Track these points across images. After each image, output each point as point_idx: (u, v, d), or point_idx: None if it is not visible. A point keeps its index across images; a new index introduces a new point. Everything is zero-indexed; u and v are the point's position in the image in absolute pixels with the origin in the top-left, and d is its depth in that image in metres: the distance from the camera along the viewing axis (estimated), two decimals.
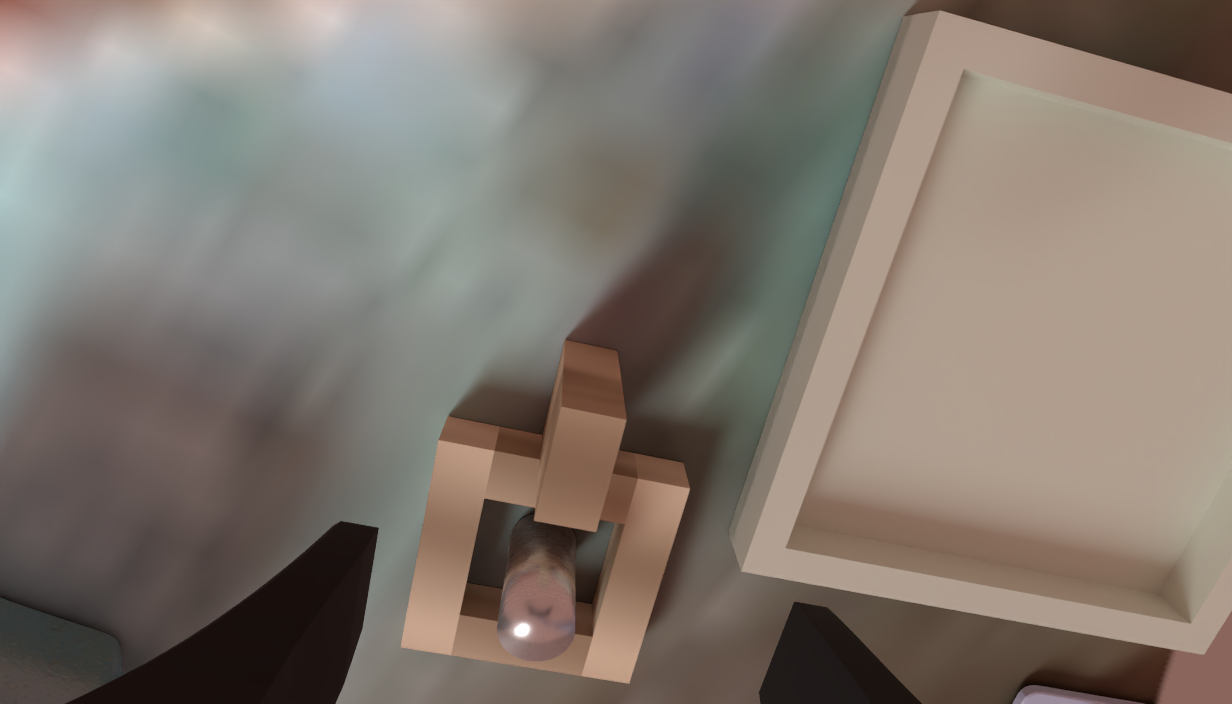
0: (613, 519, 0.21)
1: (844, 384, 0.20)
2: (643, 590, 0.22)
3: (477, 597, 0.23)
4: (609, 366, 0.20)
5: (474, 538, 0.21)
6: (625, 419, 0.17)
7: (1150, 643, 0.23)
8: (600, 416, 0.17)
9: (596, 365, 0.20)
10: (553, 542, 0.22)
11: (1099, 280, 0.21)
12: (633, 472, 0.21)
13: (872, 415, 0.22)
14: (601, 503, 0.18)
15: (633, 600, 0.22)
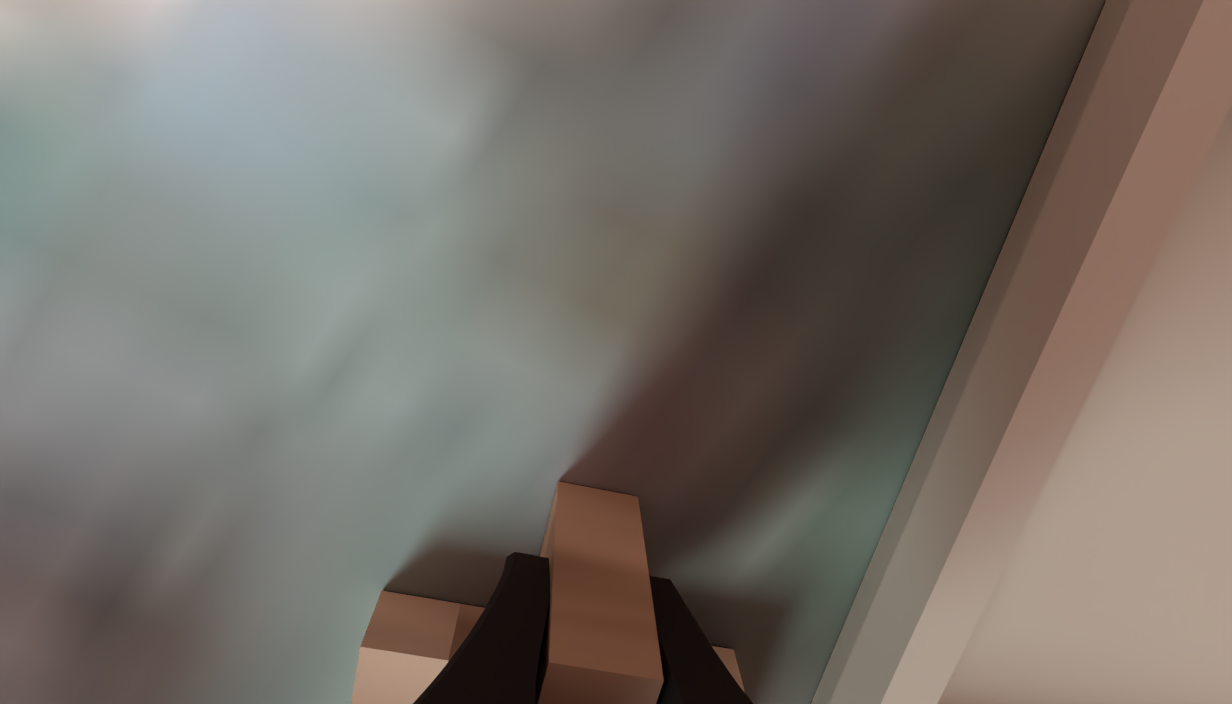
0: None
1: (1001, 567, 0.12)
2: None
3: None
4: (627, 536, 0.13)
5: None
6: (661, 679, 0.10)
7: None
8: (618, 675, 0.10)
9: (607, 536, 0.13)
10: None
11: None
12: None
13: (1022, 590, 0.14)
14: None
15: None
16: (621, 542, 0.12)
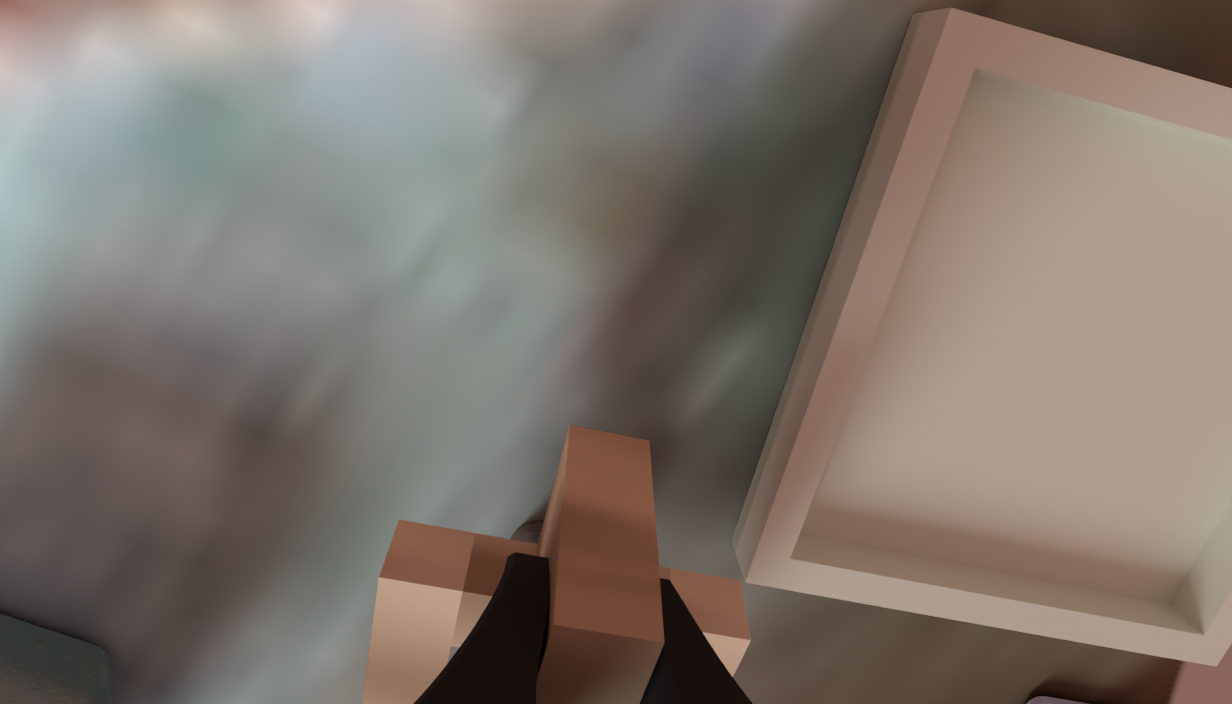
0: None
1: (851, 391, 0.19)
2: None
3: None
4: (637, 486, 0.13)
5: None
6: (662, 641, 0.10)
7: (1162, 654, 0.23)
8: (620, 638, 0.10)
9: (617, 486, 0.13)
10: None
11: (1112, 284, 0.20)
12: None
13: (879, 422, 0.21)
14: None
15: None
16: (630, 492, 0.13)
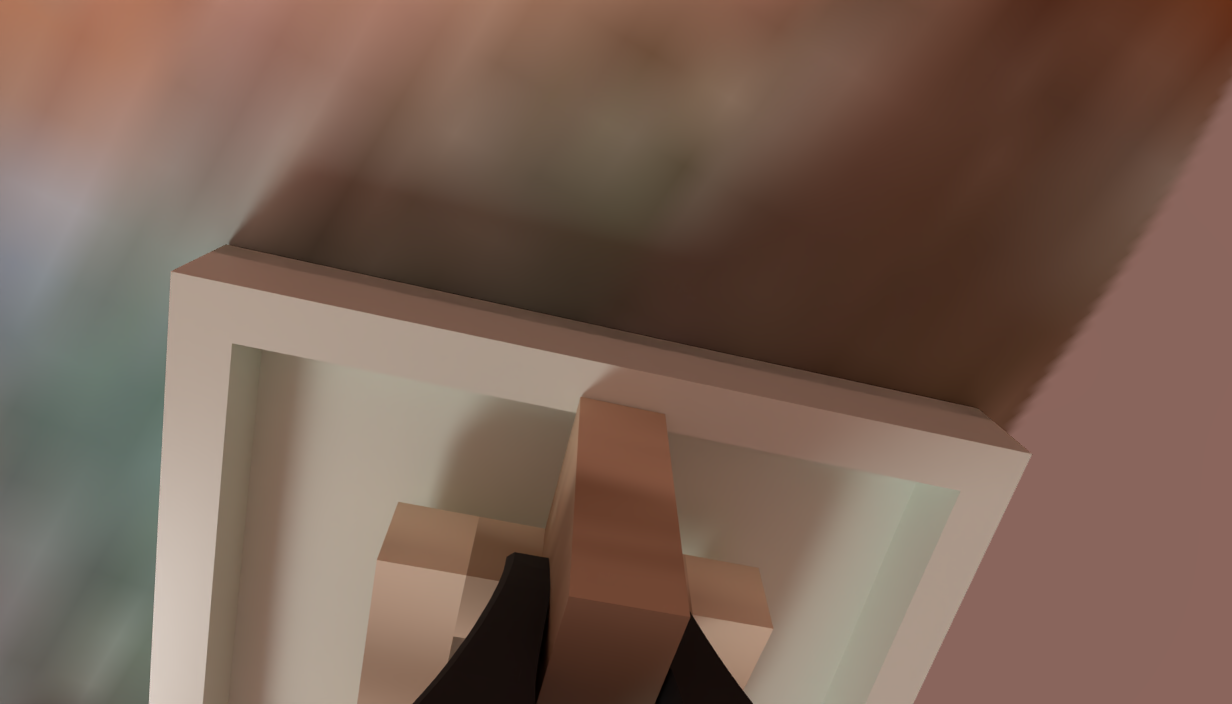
0: None
1: None
2: None
3: None
4: (654, 458, 0.12)
5: None
6: (687, 615, 0.09)
7: None
8: (642, 612, 0.09)
9: (632, 458, 0.12)
10: None
11: None
12: None
13: None
14: None
15: None
16: (647, 464, 0.12)
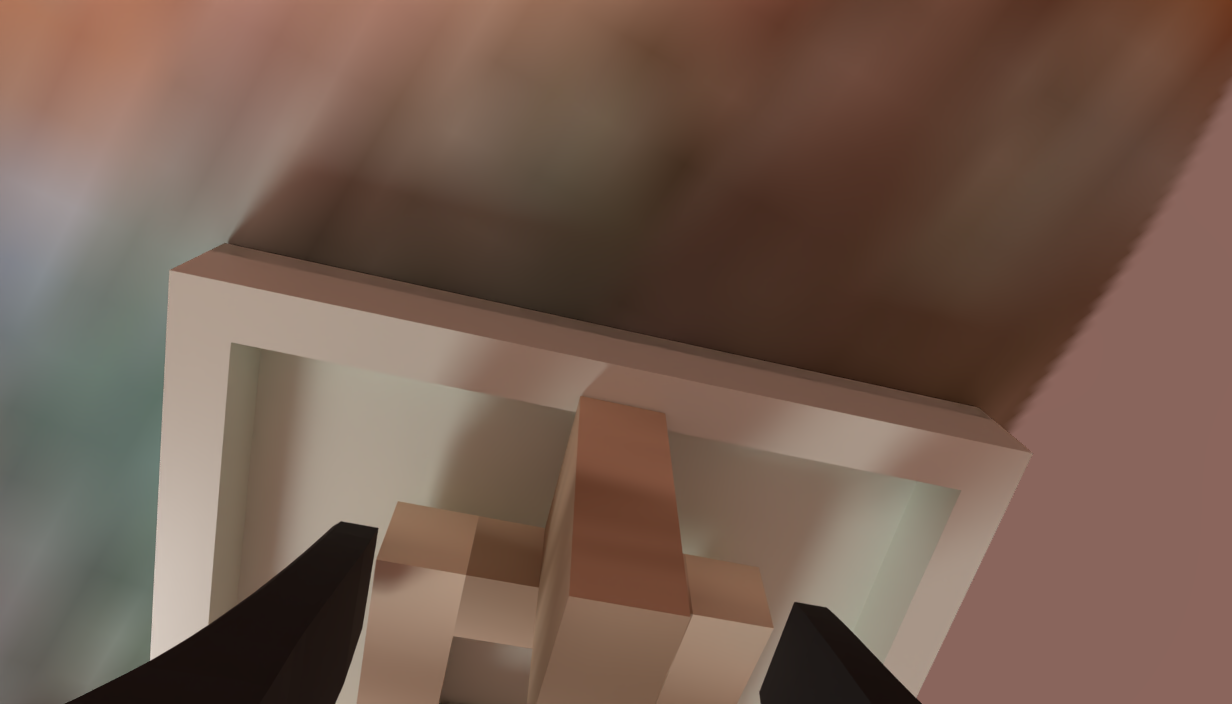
0: None
1: None
2: None
3: None
4: (654, 457, 0.12)
5: (440, 684, 0.14)
6: (688, 615, 0.09)
7: None
8: (642, 611, 0.09)
9: (632, 458, 0.12)
10: None
11: None
12: None
13: None
14: None
15: None
16: (647, 464, 0.12)
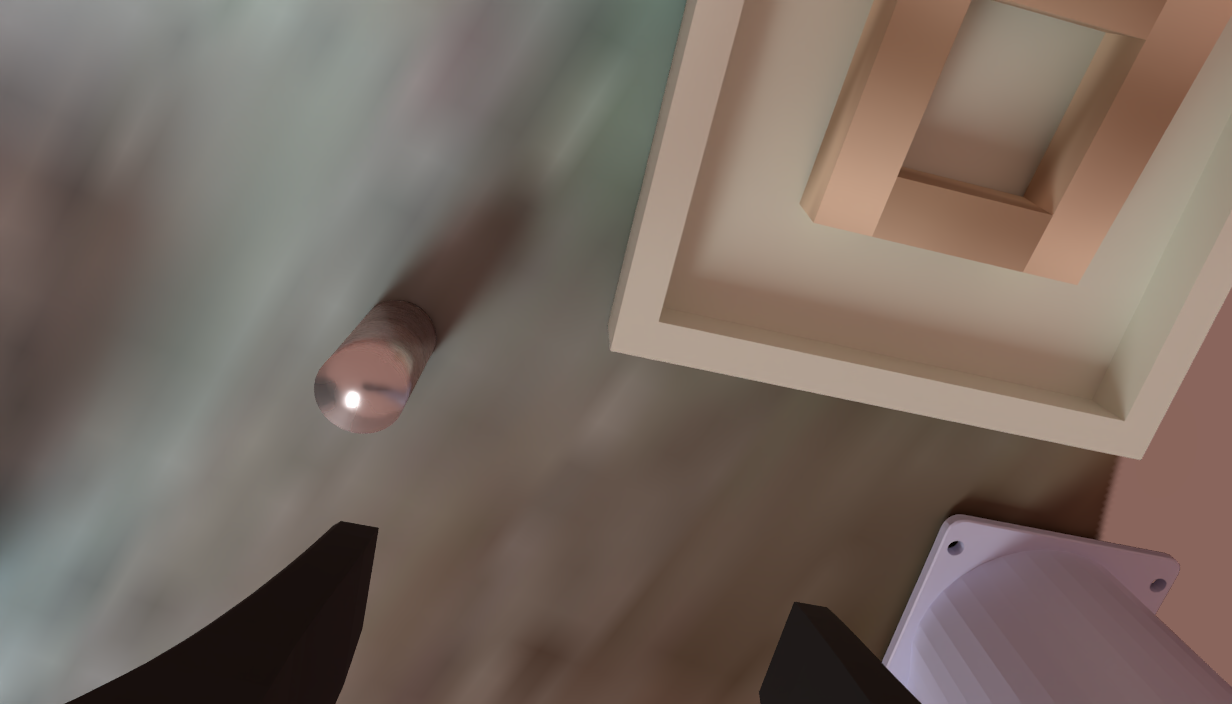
0: (1133, 31, 0.16)
1: (712, 112, 0.17)
2: (1137, 146, 0.17)
3: (900, 170, 0.19)
4: None
5: (944, 58, 0.17)
6: None
7: (1079, 444, 0.21)
8: None
9: None
10: (398, 319, 0.19)
11: None
12: None
13: (757, 174, 0.19)
14: None
15: (1120, 161, 0.18)
16: None
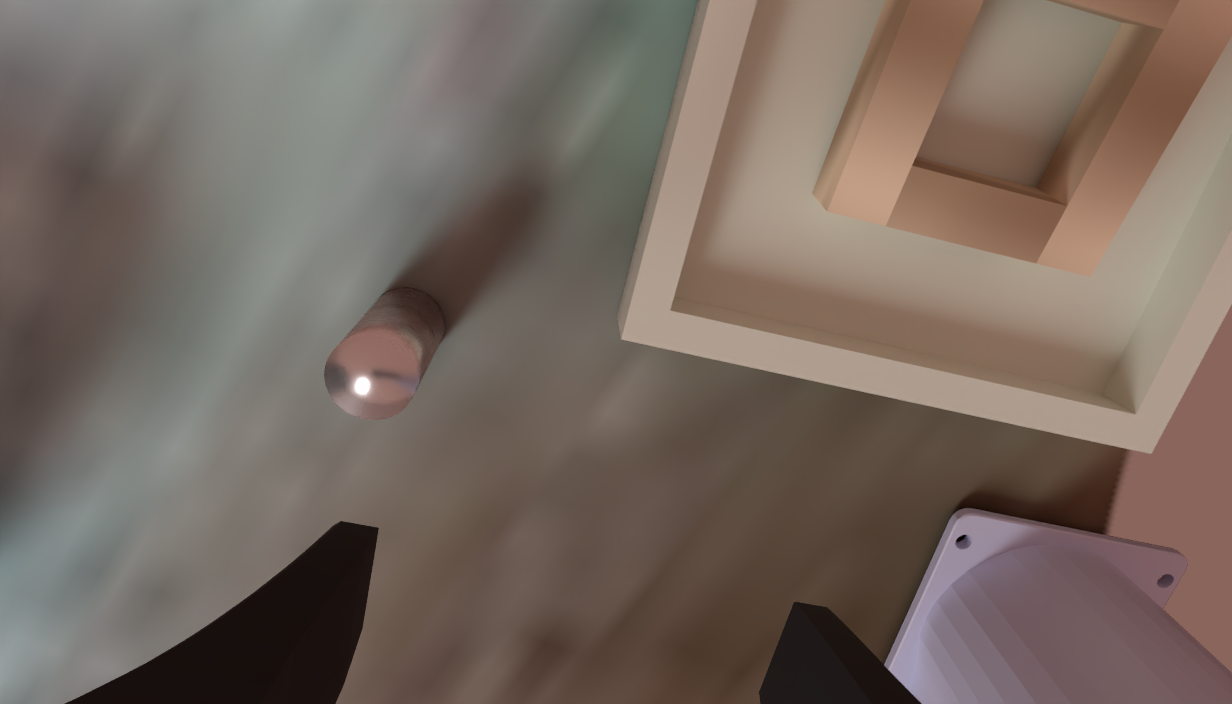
0: (1151, 20, 0.16)
1: (727, 99, 0.17)
2: (1153, 136, 0.17)
3: (914, 160, 0.18)
4: None
5: (961, 45, 0.16)
6: None
7: (1090, 438, 0.21)
8: None
9: None
10: (408, 306, 0.19)
11: None
12: None
13: (770, 162, 0.19)
14: None
15: (1135, 152, 0.18)
16: None
